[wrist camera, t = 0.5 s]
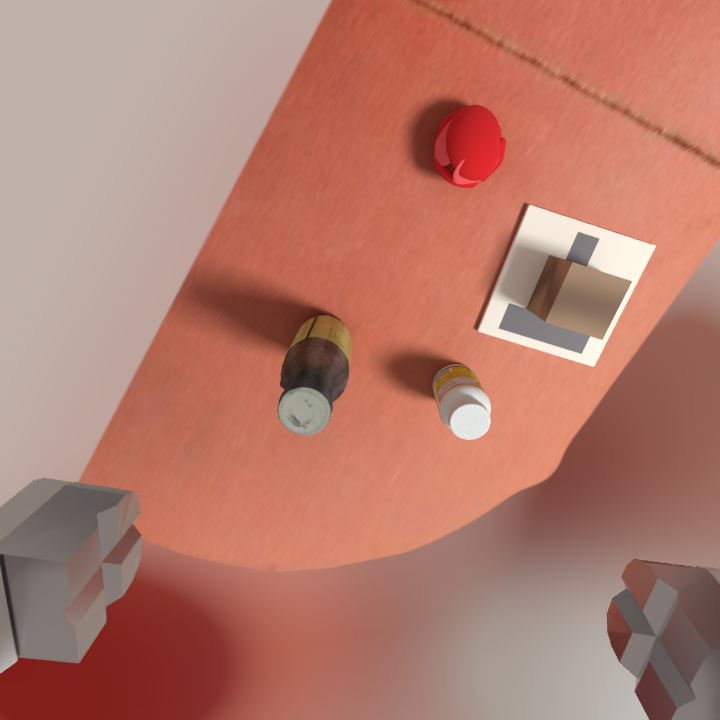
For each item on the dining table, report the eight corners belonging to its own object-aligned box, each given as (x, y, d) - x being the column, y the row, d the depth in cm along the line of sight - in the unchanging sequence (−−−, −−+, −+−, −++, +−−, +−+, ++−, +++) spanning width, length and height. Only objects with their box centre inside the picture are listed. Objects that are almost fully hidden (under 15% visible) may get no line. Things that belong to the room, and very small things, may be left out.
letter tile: (527, 204, 46) (529, 204, 46) (652, 245, 47) (655, 245, 47) (477, 330, 51) (478, 331, 50) (591, 365, 52) (593, 366, 51)
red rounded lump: (487, 207, 44) (529, 153, 39) (434, 188, 41) (472, 129, 37) (470, 159, 48) (506, 105, 43) (421, 139, 46) (454, 81, 41)
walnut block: (549, 254, 47) (572, 262, 42) (602, 271, 48) (632, 281, 42) (526, 308, 49) (545, 322, 44) (576, 324, 50) (602, 340, 44)
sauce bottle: (306, 367, 53) (266, 457, 35) (293, 317, 51) (243, 383, 33) (360, 357, 53) (349, 444, 34) (349, 306, 51) (331, 368, 32)
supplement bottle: (434, 361, 52) (445, 395, 43) (480, 364, 52) (501, 398, 43) (429, 403, 54) (439, 444, 45) (474, 406, 54) (493, 447, 45)
